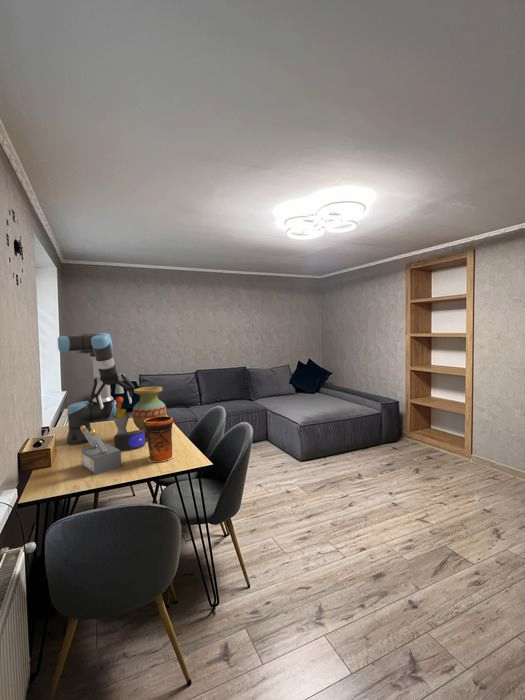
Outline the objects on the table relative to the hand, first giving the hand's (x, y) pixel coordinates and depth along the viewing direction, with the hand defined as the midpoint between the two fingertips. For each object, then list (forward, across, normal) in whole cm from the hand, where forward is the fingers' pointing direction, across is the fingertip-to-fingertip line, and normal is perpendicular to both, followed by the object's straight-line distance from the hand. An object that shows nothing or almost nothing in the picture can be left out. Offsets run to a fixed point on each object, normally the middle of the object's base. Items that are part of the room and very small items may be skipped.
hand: (116, 405), depth 174 cm
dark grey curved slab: (+31, 0, +6) cm, 32 cm away
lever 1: (+16, -12, -8) cm, 22 cm away
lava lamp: (+35, -7, +22) cm, 41 cm away
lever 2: (+14, -6, -18) cm, 24 cm away
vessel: (+27, +17, -15) cm, 35 cm away
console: (+23, -10, -16) cm, 29 cm away
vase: (+37, +9, +22) cm, 44 cm away
